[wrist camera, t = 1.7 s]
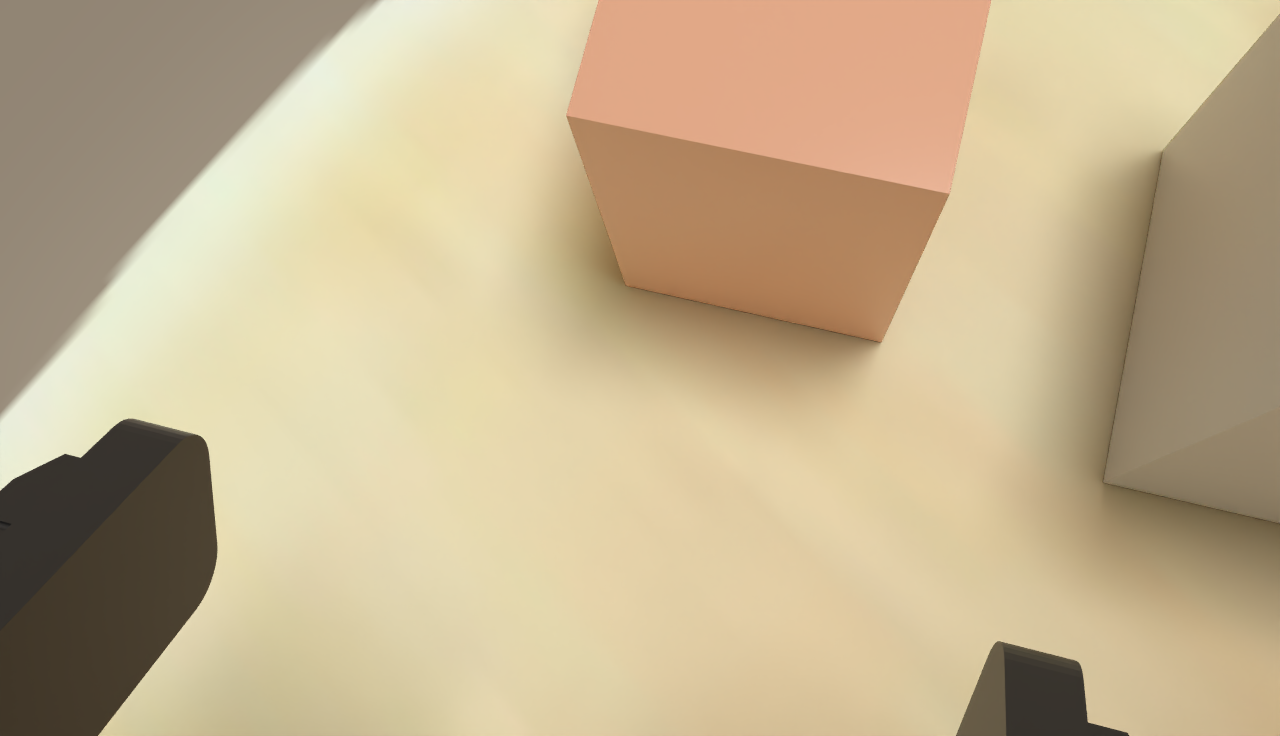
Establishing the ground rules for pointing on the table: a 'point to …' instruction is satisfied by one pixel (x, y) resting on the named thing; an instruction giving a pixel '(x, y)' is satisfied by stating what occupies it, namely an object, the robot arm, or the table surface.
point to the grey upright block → (1211, 308)
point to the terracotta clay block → (776, 147)
